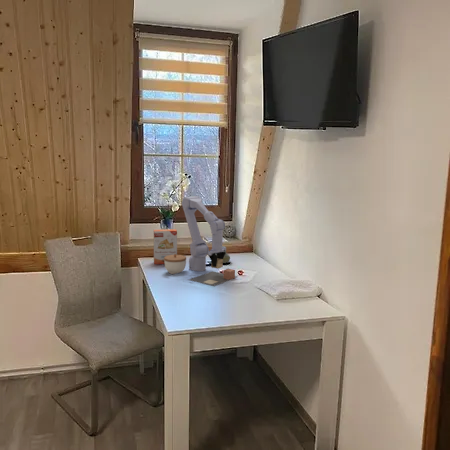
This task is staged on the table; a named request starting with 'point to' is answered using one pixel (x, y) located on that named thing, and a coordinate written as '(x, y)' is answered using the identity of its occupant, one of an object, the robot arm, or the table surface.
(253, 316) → the table surface
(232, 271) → the terracotta block
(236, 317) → the table surface
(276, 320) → the table surface
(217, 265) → the maple block
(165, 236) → the cracker box
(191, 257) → the robot arm
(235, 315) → the table surface
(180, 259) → the lidded bowl
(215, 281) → the plate
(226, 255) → the air freshener
